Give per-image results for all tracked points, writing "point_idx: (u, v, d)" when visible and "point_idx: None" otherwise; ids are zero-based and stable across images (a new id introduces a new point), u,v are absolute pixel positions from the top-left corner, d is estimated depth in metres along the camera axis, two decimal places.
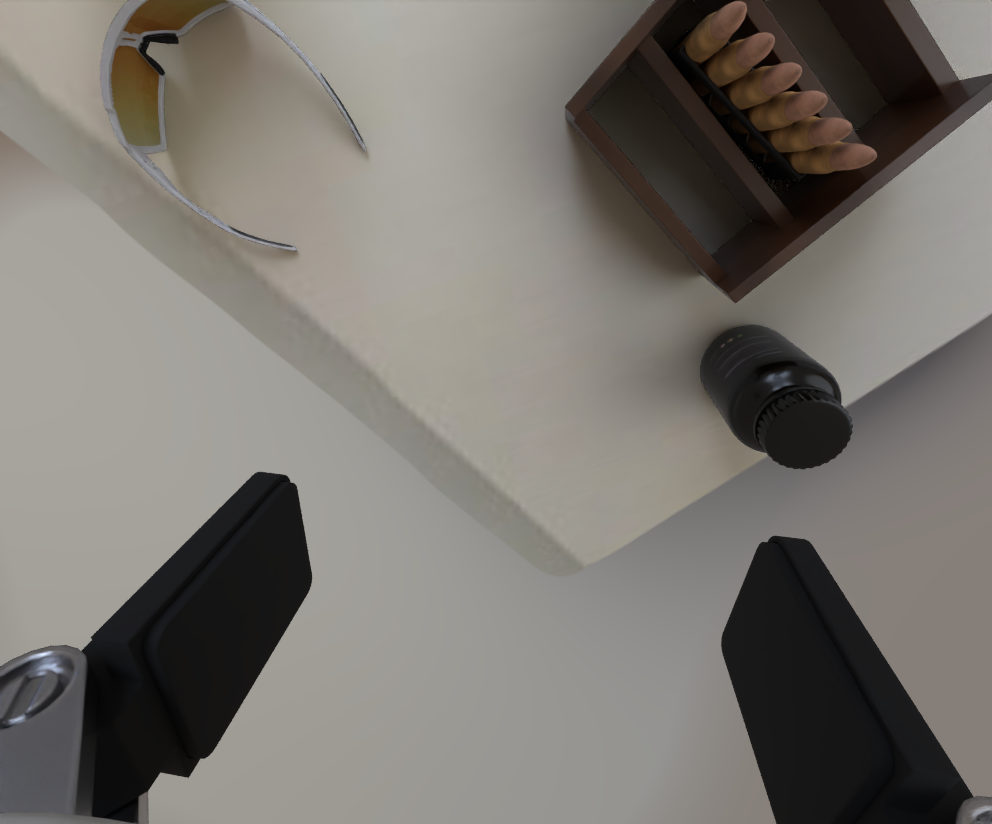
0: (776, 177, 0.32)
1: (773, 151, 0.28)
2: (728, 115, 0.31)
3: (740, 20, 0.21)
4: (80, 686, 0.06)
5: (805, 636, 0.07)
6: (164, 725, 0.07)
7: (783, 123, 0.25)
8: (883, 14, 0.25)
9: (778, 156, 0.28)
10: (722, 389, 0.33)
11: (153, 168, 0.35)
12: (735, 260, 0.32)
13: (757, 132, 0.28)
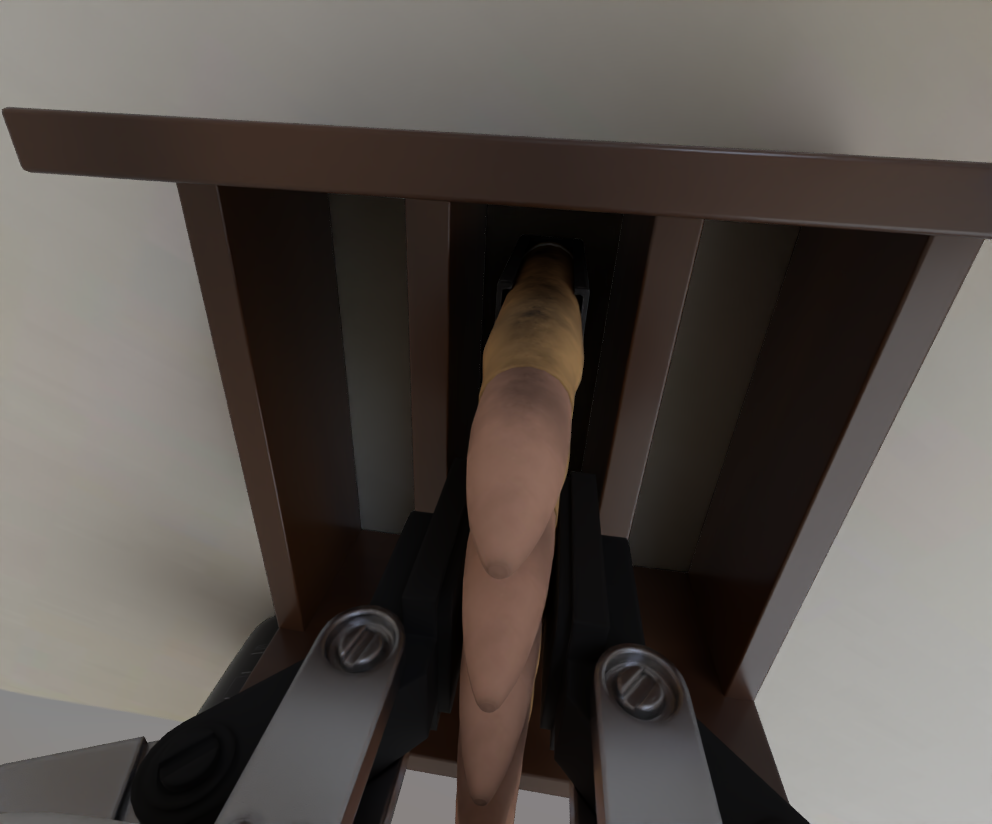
0: None
1: None
2: None
3: None
4: (405, 638, 0.07)
5: (558, 542, 0.09)
6: (435, 680, 0.08)
7: None
8: (773, 553, 0.13)
9: None
10: None
11: None
12: None
13: None
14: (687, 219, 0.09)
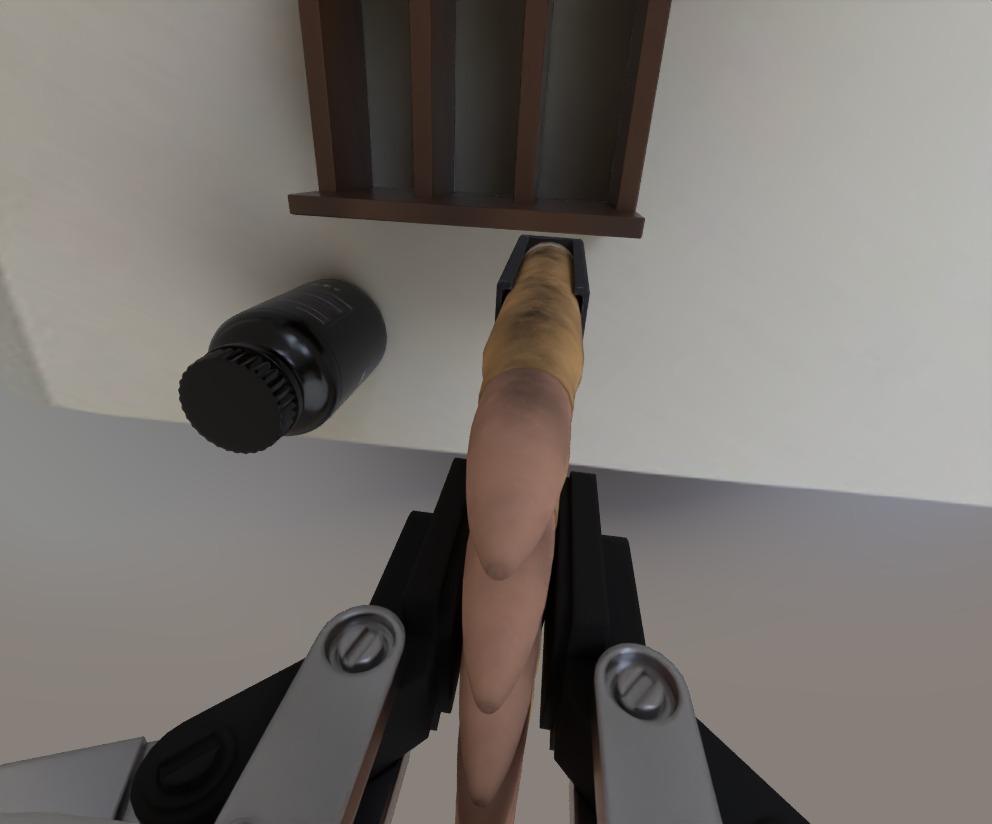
0: None
1: None
2: None
3: None
4: (405, 638, 0.07)
5: (558, 543, 0.09)
6: (435, 679, 0.08)
7: None
8: (635, 71, 0.20)
9: None
10: None
11: None
12: (361, 192, 0.24)
13: None
14: None
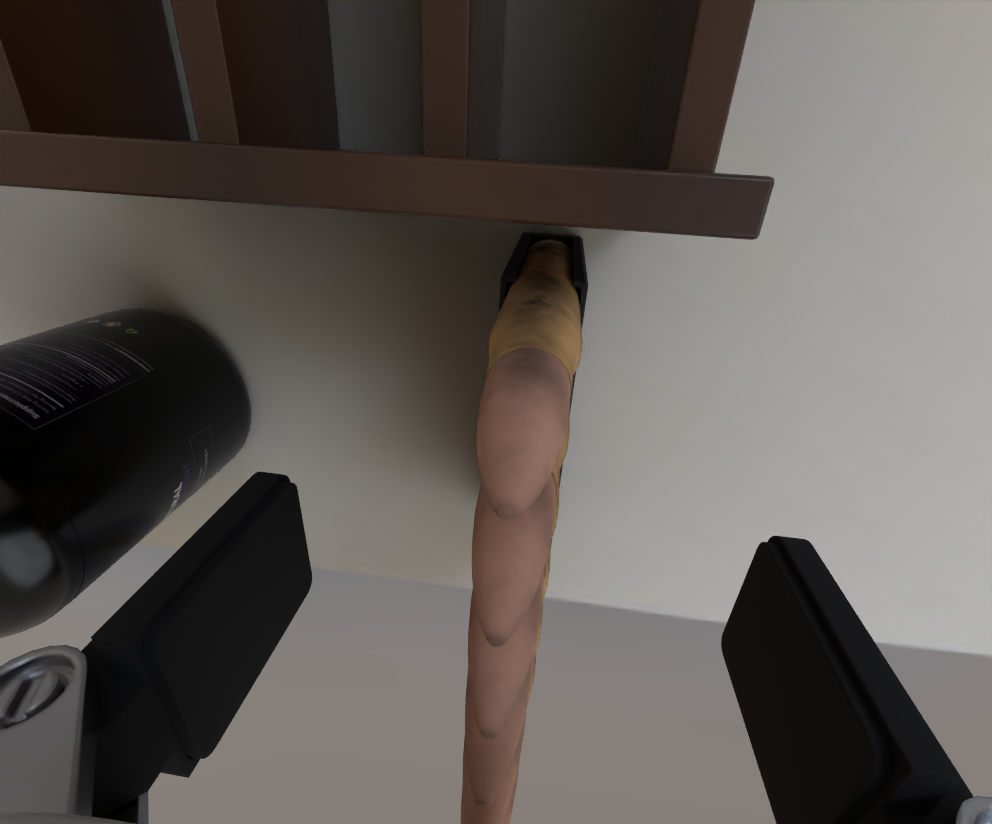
0: None
1: None
2: None
3: None
4: (80, 686, 0.06)
5: (805, 636, 0.07)
6: (164, 726, 0.07)
7: None
8: None
9: None
10: None
11: None
12: None
13: None
14: None
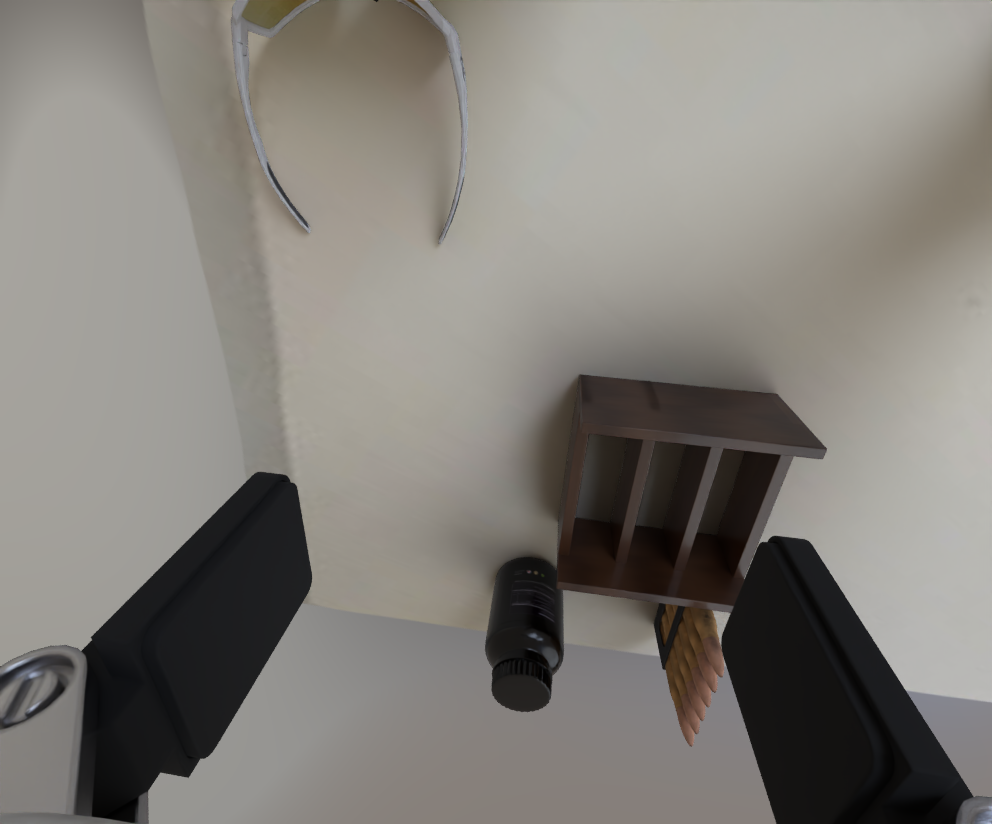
0: None
1: (667, 651, 0.44)
2: None
3: None
4: (80, 686, 0.06)
5: (805, 636, 0.07)
6: (164, 726, 0.07)
7: (683, 676, 0.40)
8: (750, 522, 0.37)
9: (666, 654, 0.44)
10: (504, 610, 0.42)
11: (243, 55, 0.28)
12: (580, 550, 0.41)
13: (672, 641, 0.43)
14: None
